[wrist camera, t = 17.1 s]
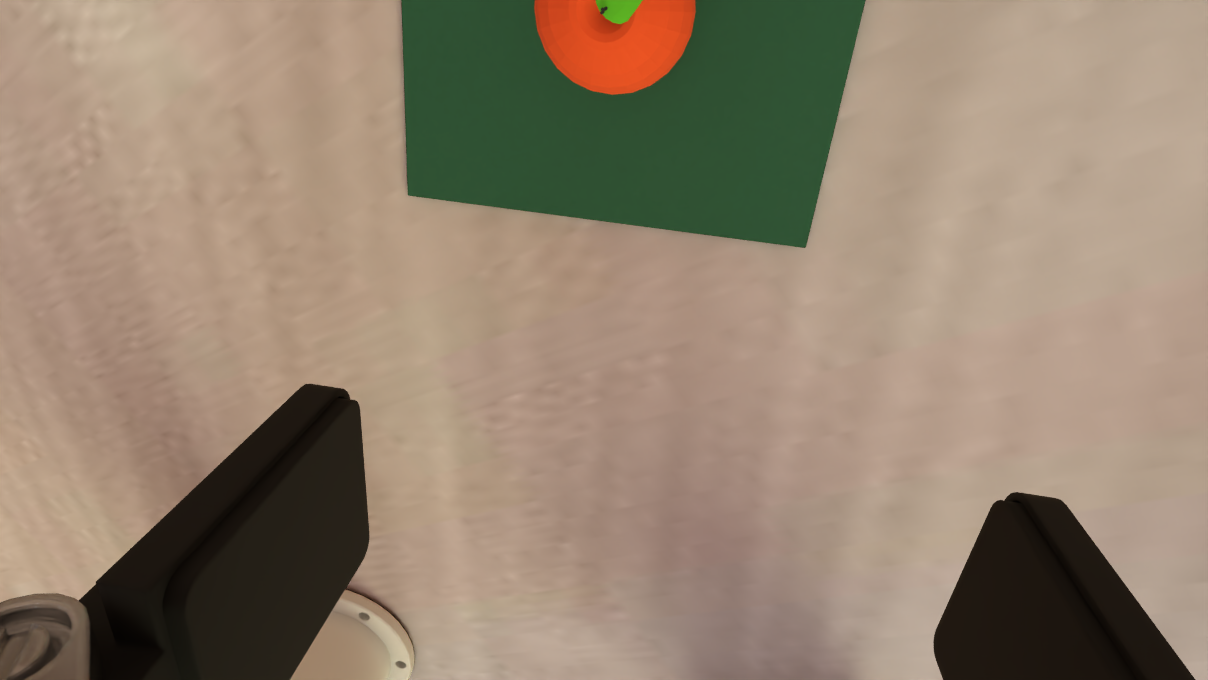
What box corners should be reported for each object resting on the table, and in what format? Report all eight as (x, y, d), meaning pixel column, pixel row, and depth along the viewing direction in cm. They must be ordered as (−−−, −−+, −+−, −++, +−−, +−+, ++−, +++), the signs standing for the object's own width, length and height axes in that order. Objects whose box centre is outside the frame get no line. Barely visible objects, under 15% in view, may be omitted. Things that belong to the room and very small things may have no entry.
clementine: (644, -133, 30) (630, -172, 24) (744, -5, 32) (756, -9, 25) (522, 6, 33) (479, 6, 27) (619, 117, 35) (601, 141, 28)
